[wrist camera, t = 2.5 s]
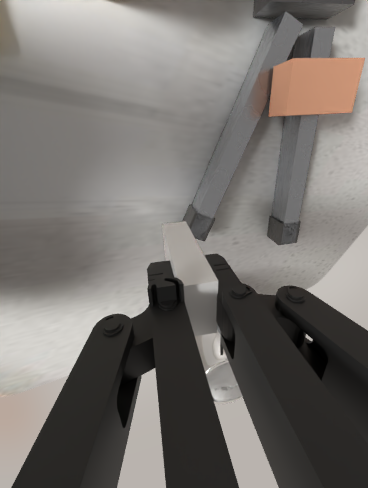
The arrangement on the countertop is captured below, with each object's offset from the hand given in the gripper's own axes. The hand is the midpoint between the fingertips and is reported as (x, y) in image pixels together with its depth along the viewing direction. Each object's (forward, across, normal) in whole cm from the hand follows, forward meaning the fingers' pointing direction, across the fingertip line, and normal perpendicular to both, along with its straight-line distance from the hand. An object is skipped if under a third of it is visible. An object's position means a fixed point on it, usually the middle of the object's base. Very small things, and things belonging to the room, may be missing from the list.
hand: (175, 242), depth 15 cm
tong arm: (+14, +8, +5) cm, 17 cm away
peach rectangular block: (+11, +15, +9) cm, 20 cm away
